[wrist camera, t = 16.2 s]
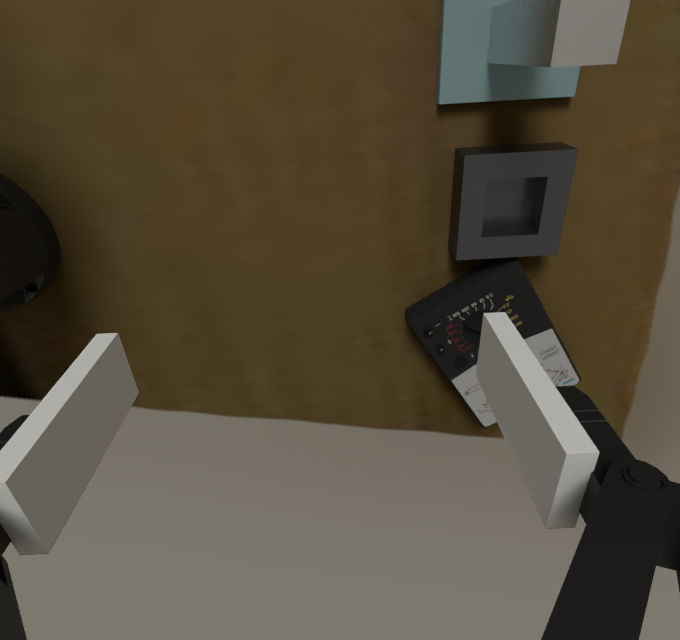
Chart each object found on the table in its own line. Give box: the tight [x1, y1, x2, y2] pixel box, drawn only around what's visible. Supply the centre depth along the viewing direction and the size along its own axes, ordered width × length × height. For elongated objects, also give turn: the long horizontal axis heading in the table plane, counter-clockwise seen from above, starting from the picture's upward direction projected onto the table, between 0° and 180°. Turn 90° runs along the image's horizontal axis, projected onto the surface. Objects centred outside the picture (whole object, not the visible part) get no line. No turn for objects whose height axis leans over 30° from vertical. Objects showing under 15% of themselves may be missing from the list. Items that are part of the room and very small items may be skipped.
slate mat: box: [437, 0, 580, 104], centre depth 39 cm, size 12×10×1 cm
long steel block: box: [487, 0, 630, 67], centre depth 32 cm, size 4×4×13 cm
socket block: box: [448, 142, 578, 260], centre depth 45 cm, size 10×10×4 cm
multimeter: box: [405, 257, 581, 427], centre depth 53 cm, size 13×19×5 cm
